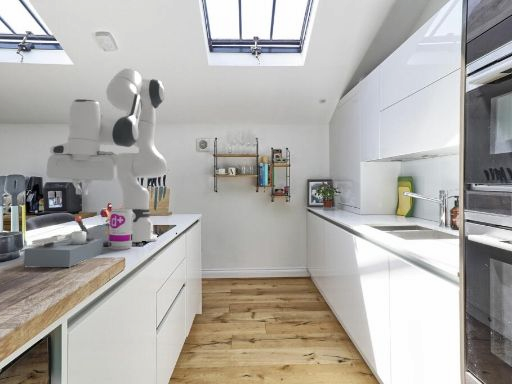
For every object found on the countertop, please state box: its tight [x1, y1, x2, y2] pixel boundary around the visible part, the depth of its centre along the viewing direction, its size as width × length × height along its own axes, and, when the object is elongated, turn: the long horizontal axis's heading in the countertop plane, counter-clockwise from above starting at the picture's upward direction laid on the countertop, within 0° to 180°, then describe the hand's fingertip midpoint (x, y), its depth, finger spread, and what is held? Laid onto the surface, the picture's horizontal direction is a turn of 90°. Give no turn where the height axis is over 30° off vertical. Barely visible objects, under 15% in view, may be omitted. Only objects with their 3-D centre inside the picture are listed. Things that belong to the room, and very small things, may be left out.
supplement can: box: [108, 208, 133, 251], centre depth 120 cm, size 8×8×15 cm
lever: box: [74, 216, 90, 236], centre depth 103 cm, size 2×2×7 cm
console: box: [23, 236, 104, 267], centre depth 97 cm, size 22×12×6 cm, turn 4°
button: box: [70, 230, 87, 245], centre depth 97 cm, size 4×4×4 cm
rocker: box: [31, 234, 66, 245], centre depth 91 cm, size 4×7×1 cm, turn 94°
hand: (81, 194), depth 98 cm, fingers closed
